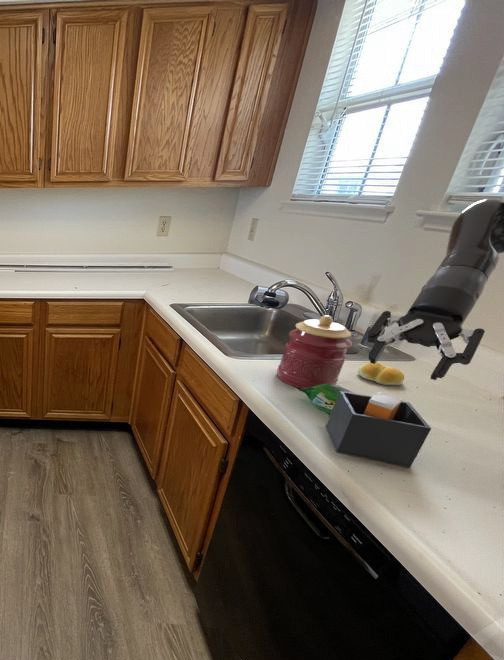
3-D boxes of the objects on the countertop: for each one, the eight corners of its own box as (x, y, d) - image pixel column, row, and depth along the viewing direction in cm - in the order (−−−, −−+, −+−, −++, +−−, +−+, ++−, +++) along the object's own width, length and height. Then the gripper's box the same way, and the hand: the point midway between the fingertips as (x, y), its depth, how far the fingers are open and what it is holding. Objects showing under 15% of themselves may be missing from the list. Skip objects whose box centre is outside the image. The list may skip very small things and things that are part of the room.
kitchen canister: (298, 367, 116) (319, 305, 108) (347, 387, 105) (374, 320, 97) (264, 374, 112) (283, 310, 104) (311, 395, 101) (337, 326, 93)
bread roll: (394, 389, 104) (401, 375, 102) (352, 376, 111) (358, 362, 109) (407, 381, 108) (414, 367, 106) (366, 369, 115) (372, 356, 113)
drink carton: (381, 443, 82) (403, 398, 78) (372, 452, 80) (394, 406, 75) (359, 434, 85) (379, 391, 80) (350, 443, 82) (370, 398, 78)
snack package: (314, 394, 102) (321, 375, 99) (386, 427, 88) (396, 406, 86) (293, 399, 99) (300, 380, 97) (364, 434, 86) (374, 412, 84)
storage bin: (391, 439, 84) (409, 402, 81) (410, 468, 76) (431, 428, 72) (325, 426, 89) (339, 390, 85) (336, 452, 80) (353, 414, 77)
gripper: (499, 318, 73) (452, 393, 72) (396, 300, 84) (354, 366, 83) (509, 293, 68) (459, 373, 67) (398, 277, 79) (353, 346, 77)
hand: (401, 369), depth 75 cm, fingers open, 8 cm apart
